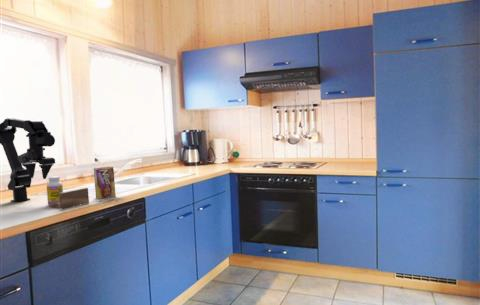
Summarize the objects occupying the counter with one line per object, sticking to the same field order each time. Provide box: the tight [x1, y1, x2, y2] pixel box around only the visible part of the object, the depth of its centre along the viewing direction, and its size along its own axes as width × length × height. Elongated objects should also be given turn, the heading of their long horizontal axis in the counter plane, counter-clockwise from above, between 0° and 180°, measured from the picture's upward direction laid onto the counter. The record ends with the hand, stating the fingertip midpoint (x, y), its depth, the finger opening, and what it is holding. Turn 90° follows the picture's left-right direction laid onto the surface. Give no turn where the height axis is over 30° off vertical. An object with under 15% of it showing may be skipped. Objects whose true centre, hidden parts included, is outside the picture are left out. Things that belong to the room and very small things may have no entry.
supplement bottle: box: [46, 175, 64, 205], centre depth 173 cm, size 7×7×13 cm
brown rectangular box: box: [48, 187, 90, 210], centre depth 169 cm, size 10×14×7 cm
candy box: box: [93, 166, 117, 200], centre depth 185 cm, size 9×4×15 cm, turn 129°
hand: (38, 178), depth 178 cm, fingers open, 9 cm apart
